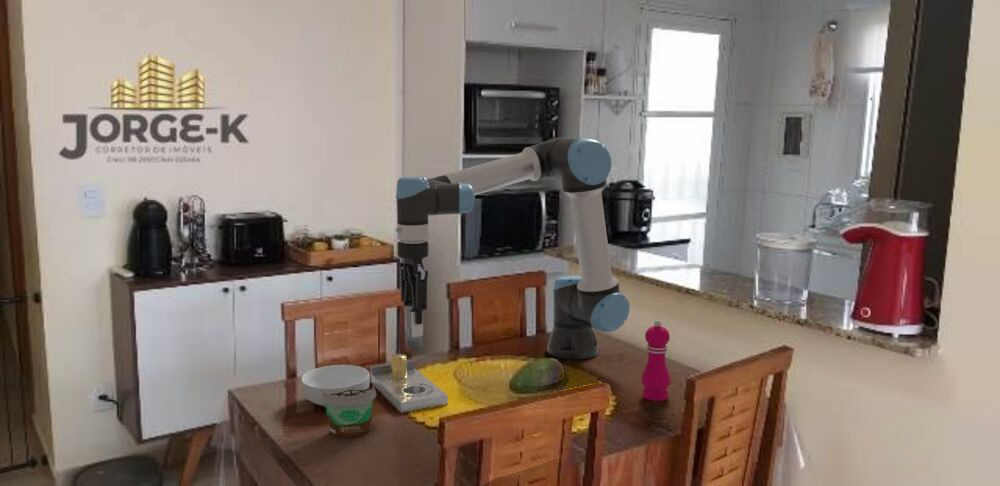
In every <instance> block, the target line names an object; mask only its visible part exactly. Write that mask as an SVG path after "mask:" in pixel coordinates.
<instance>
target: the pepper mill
mask: <svg viewBox="0 0 1000 486" xmlns="http://www.w3.org/2000/svg"><path fill="white" fill-rule="evenodd" d="M653 324H654V325H653V326H651V327H649V328H647V330H646V331H645V337H644V338H645V341H646V343H647V344H646V347H647V348H646V351H647V352H648V358H647V362H646V365H645V368H644V369H643V372H642V375H641V379H640V380H641V384H642V386H643V387H644V388H643V389H642V397H643V398H644V399H645V400H648V401H652V402H663V401H666V400H667V399H668V398H669V390H668V388H669V386H670V385H671V375H670V371H669V369H668V367H667V363H666V353H667V352H668V345H667V344H668V343H669V342H670V338H671V337H670V335H671V334H670V332H669V330H668V329H667V328H665V326H662V321H660V320H657V319H656V320H655V321H654V323H653Z"/></svg>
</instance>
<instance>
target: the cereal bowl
mask: <svg viewBox="0 0 1000 486" xmlns="http://www.w3.org/2000/svg"><path fill="white" fill-rule="evenodd" d="M300 384H301V389H302V390H301V391H302V394H303V395H304V396H305V398H306V399H307V400H308V401H310V402H311V403H313V404H315V405H318V406H321V407H324V408H326V406H325V403H324V402H323V401H322V395H323V394H324V392H325V393H327V394H336V393H340V392H343V391H347V390H364V389H369V388H370V384H371V375H370V372H369V370H367V368H364V367H362V366H358V365H353V364H333V365H326V366H321V367H317V368H314V369H311V370H309V371H307V372H305V373H304V374H303V375H302V376H301V378H300Z"/></svg>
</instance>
